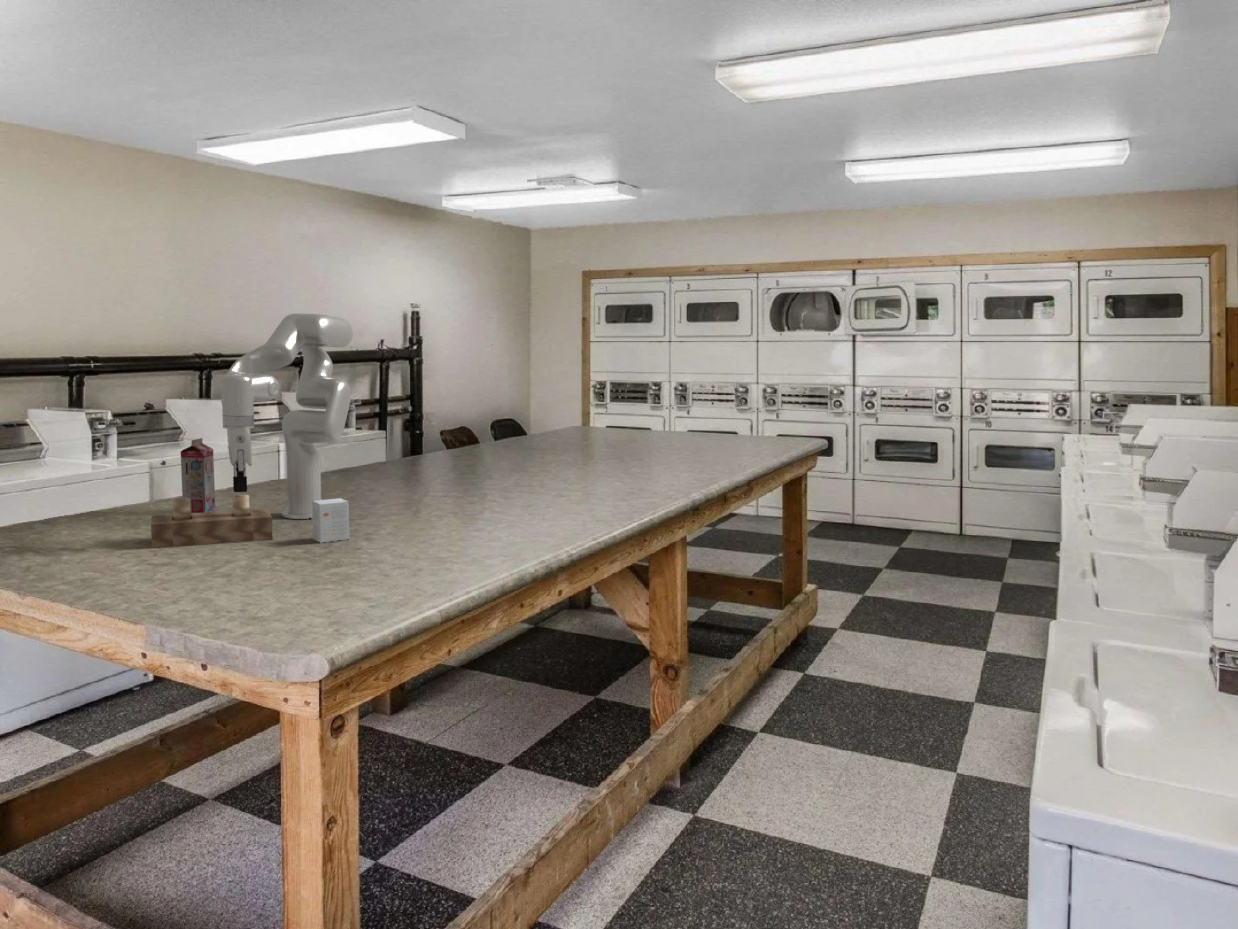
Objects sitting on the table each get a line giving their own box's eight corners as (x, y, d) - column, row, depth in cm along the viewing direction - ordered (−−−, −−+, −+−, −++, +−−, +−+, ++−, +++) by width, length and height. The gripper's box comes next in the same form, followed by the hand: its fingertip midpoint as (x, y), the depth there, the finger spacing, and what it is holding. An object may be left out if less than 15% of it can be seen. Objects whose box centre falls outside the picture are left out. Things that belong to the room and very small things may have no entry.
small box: (341, 536, 235) (341, 497, 234) (349, 540, 231) (349, 501, 229) (312, 539, 230) (311, 500, 229) (319, 543, 226) (319, 503, 225)
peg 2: (248, 515, 233) (248, 494, 232) (250, 518, 229) (249, 496, 228) (232, 516, 231) (231, 495, 230) (233, 519, 227) (232, 497, 226)
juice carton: (215, 509, 265) (212, 438, 262) (205, 514, 258) (202, 440, 255) (193, 509, 265) (190, 437, 262) (183, 513, 258) (180, 440, 255)
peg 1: (190, 519, 226) (189, 497, 225) (191, 522, 223) (190, 499, 222) (173, 520, 224) (172, 498, 224) (173, 523, 221) (172, 500, 220)
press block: (267, 530, 239) (267, 509, 238) (272, 539, 229) (272, 517, 228) (152, 538, 226) (151, 515, 225) (151, 548, 216) (150, 524, 215)
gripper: (256, 424, 222) (258, 495, 224) (251, 419, 235) (253, 486, 237) (224, 424, 218) (226, 496, 221) (221, 419, 231) (223, 487, 234)
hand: (240, 491), depth 229 cm, fingers closed
